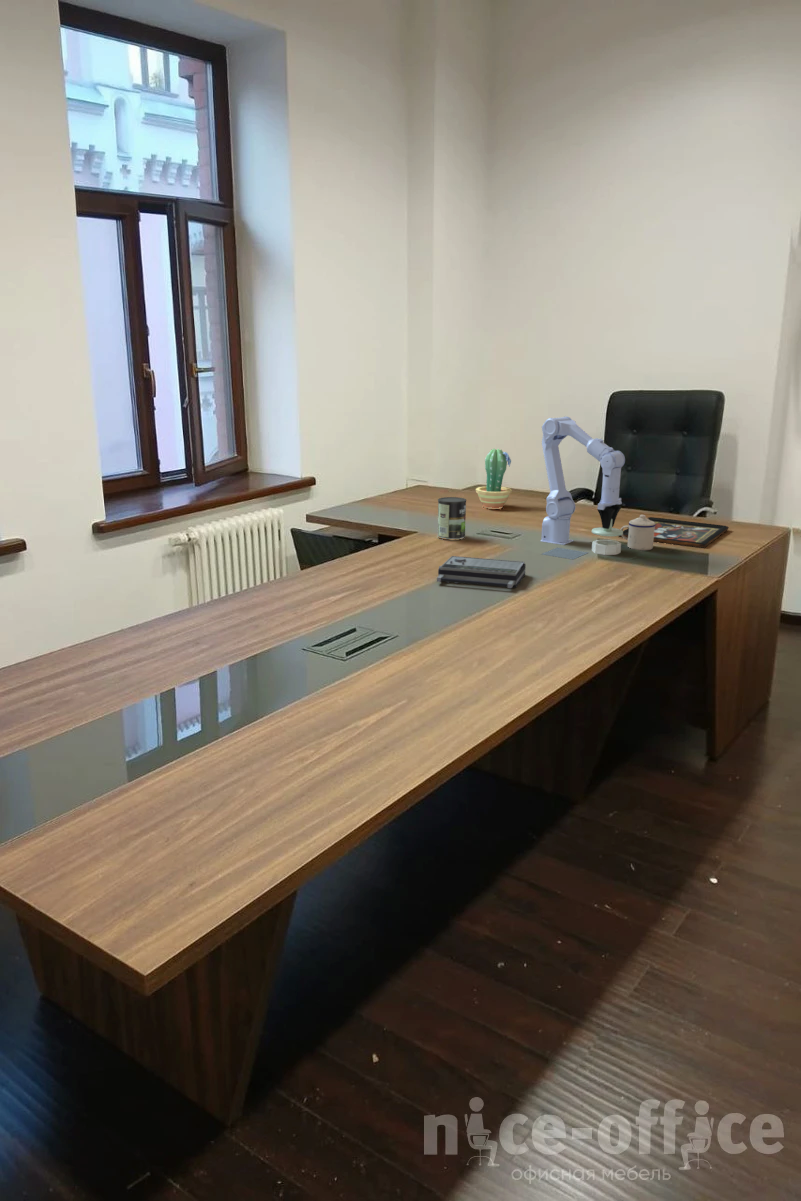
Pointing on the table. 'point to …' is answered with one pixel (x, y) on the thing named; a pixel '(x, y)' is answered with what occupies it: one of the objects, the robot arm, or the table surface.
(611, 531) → the lid
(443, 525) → the coffee can
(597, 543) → the bowl
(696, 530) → the framed painting
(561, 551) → the mat
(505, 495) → the potted cactus
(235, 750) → the table surface
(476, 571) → the radio
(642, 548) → the teacup with lid
